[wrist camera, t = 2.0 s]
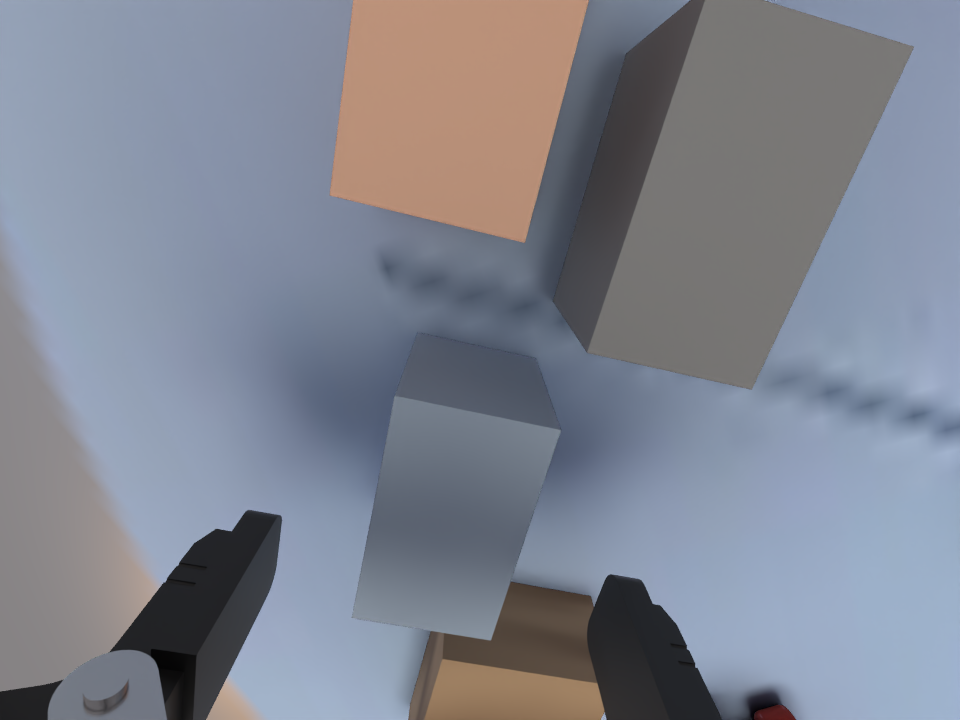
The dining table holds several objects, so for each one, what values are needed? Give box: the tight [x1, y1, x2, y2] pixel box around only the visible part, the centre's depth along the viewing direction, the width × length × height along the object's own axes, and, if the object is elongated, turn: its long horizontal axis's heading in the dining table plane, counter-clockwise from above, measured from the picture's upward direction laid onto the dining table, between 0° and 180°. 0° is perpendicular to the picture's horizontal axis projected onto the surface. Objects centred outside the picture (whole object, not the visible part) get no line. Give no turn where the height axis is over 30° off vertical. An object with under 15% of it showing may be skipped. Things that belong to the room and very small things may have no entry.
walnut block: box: [408, 582, 605, 720], centre depth 19 cm, size 8×6×4 cm
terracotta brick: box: [330, 0, 589, 243], centre depth 11 cm, size 7×4×5 cm, turn 167°
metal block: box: [352, 333, 561, 640], centre depth 15 cm, size 7×4×5 cm, turn 167°
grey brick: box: [553, 0, 914, 390], centre depth 12 cm, size 7×4×5 cm, turn 167°
